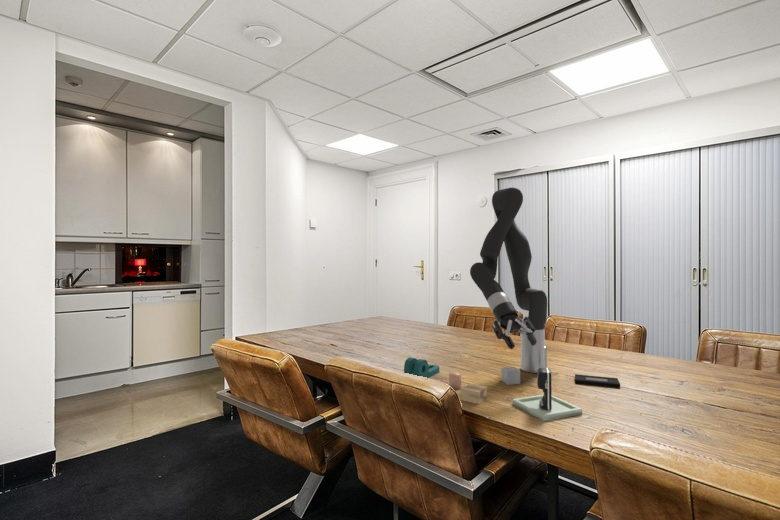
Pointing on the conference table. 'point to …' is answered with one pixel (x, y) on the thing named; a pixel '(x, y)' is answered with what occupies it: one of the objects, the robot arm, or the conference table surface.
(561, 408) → the tray
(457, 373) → the pink glossy rounded part
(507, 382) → the grey box
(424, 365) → the bracket
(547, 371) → the battery charger
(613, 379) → the vhs tape
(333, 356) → the conference table surface
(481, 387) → the oak block
